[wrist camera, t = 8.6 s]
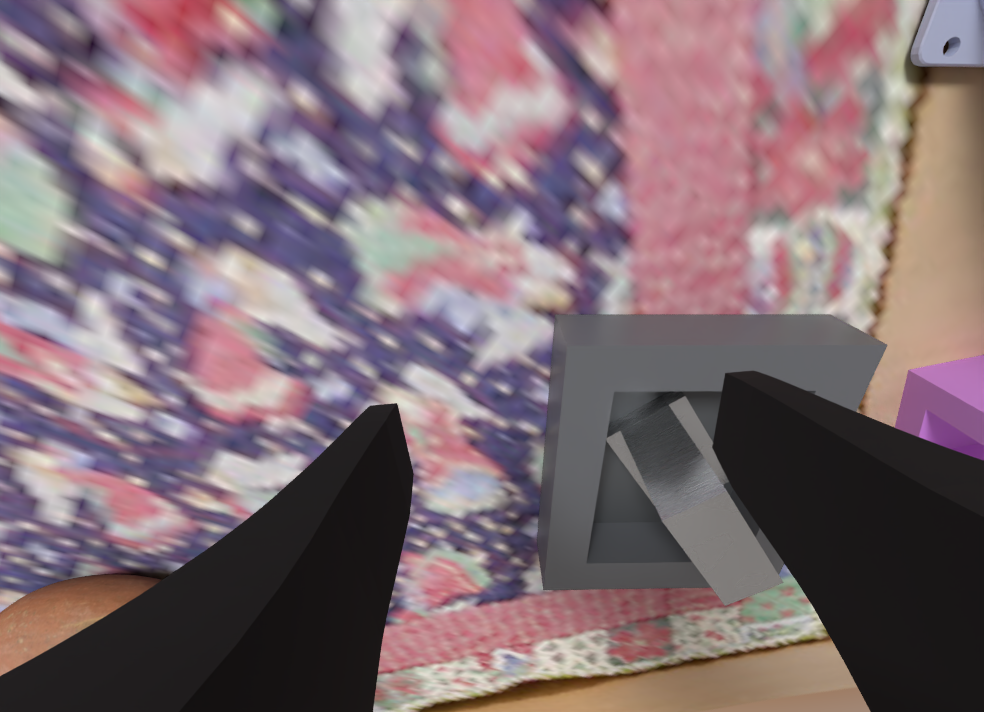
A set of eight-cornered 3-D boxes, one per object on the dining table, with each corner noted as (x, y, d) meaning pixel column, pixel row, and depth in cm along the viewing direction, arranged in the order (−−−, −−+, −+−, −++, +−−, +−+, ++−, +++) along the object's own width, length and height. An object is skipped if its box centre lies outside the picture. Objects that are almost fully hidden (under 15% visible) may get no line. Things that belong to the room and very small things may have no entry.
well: (830, 314, 19) (887, 345, 16) (742, 538, 26) (773, 586, 23) (555, 314, 19) (567, 345, 16) (536, 541, 25) (543, 589, 23)
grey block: (677, 386, 20) (749, 480, 15) (726, 467, 22) (803, 574, 17) (600, 428, 21) (641, 530, 16) (655, 502, 23) (706, 613, 18)
